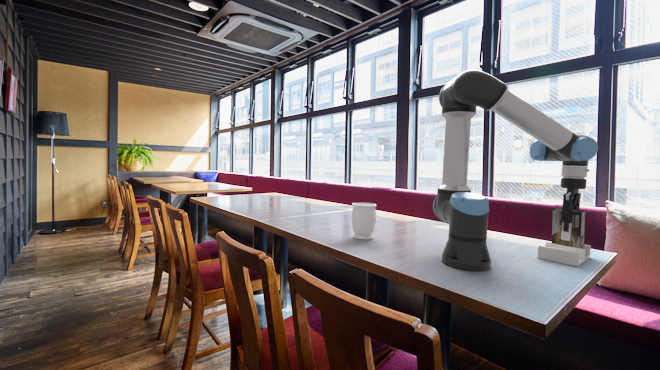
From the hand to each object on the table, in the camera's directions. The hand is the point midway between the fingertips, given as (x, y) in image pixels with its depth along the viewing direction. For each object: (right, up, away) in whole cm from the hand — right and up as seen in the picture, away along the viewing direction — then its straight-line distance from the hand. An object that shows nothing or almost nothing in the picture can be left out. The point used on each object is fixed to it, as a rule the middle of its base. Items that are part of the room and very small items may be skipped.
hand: (568, 238), depth 121 cm
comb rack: (-3, -7, -2) cm, 8 cm away
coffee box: (0, -5, 0) cm, 5 cm away
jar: (-75, -3, +20) cm, 78 cm away
